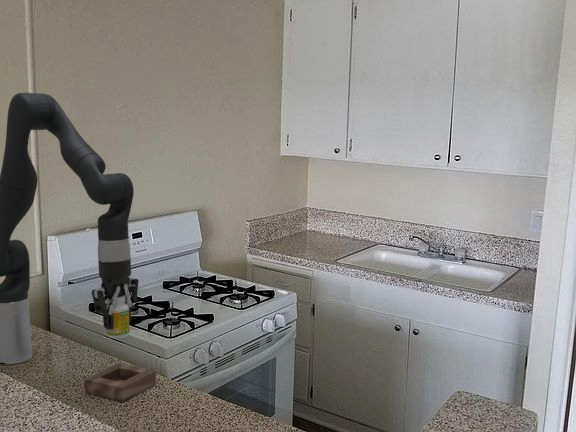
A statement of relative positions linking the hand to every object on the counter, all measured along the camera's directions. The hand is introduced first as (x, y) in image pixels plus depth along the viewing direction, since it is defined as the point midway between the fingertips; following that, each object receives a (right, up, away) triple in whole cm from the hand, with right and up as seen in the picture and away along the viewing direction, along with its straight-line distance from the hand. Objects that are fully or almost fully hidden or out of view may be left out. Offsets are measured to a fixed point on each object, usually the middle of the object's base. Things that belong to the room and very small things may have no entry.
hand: (117, 325), depth 162 cm
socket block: (0, -16, +2) cm, 16 cm away
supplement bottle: (0, -3, 0) cm, 3 cm away
